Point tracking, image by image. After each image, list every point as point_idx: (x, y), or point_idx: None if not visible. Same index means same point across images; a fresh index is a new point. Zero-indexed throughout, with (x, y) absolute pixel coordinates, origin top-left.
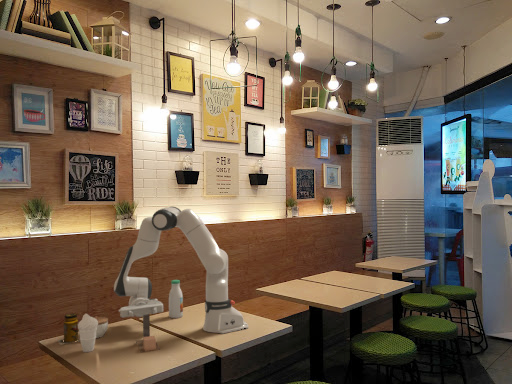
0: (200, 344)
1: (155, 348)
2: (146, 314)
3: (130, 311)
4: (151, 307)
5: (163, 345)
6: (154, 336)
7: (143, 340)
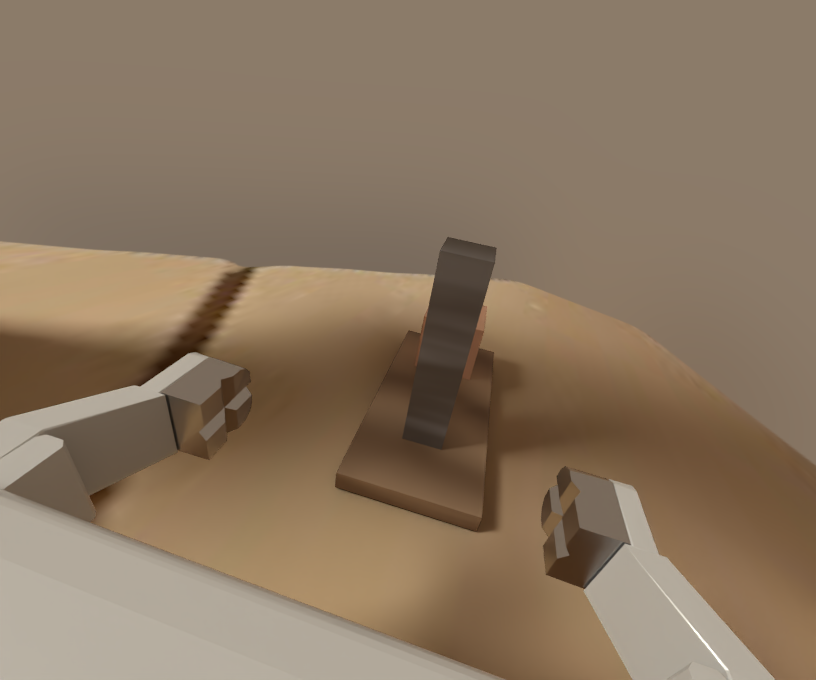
0: (218, 308)
1: None
2: (462, 252)
3: (711, 645)
4: (37, 509)
5: (344, 387)
6: (427, 309)
7: (479, 343)
